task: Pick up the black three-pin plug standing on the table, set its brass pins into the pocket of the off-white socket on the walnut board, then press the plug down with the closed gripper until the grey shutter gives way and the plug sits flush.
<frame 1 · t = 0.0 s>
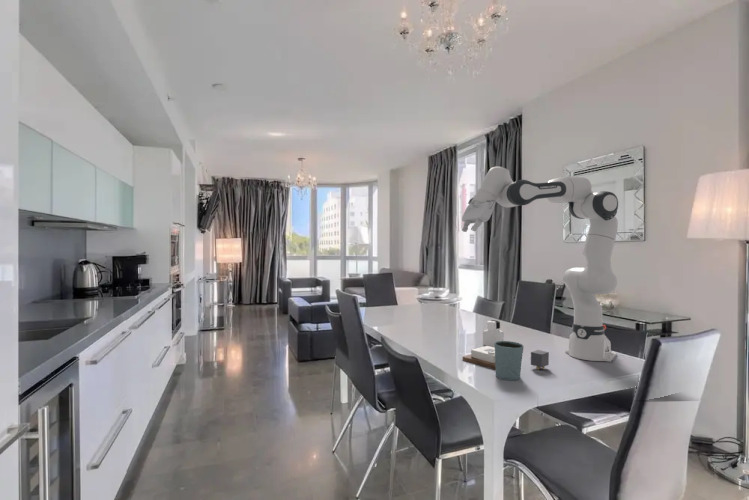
hand: (468, 230, 163), 54 cm above the table, tool tilted 30°, fingers open, 8 cm apart
shutter: (490, 351, 166), point 4 cm above the table, slide at 0.0 cm
socket: (490, 353, 166), on the mounting board, point 3 cm above the table
medicine bottle: (493, 345, 192), on the table
plug: (539, 368, 156), on the table
teal cup: (508, 376, 146), on the table
mounting board: (490, 361, 166), on the table
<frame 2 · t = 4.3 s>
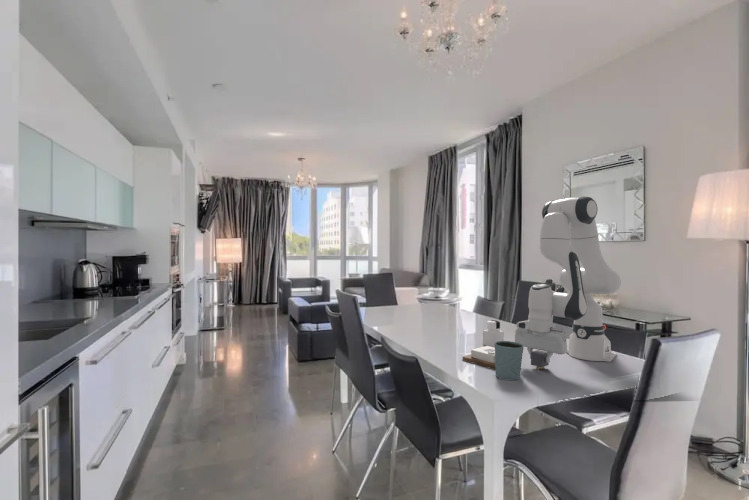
hand: (539, 360, 156), 3 cm above the table, tool pointing down, fingers closed on plug, 4 cm apart
plug: (539, 368, 156), on the table, touching gripper
everything else where it was.
when the fingers open (8 cm above the table, at t = 9.1 s): plug stays where it is, resting on shutter.
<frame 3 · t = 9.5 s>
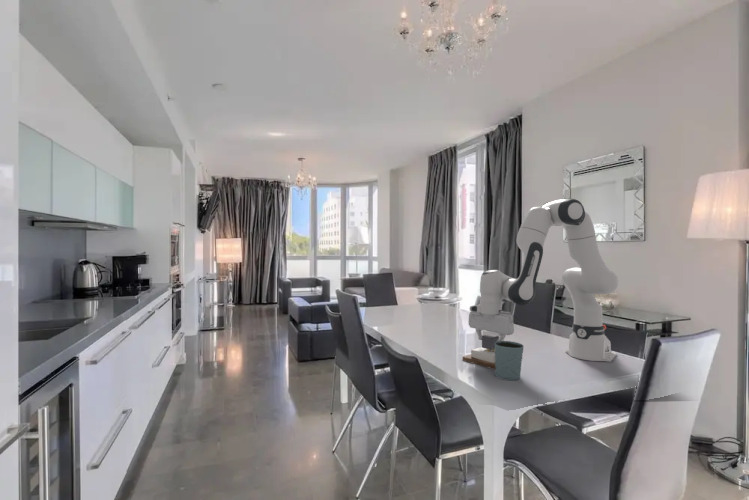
hand: (490, 341, 166), 8 cm above the table, tool pointing down, fingers open, 8 cm apart
shutter: (490, 352, 166), point 4 cm above the table, slide at 0.3 cm, touching plug
plug: (490, 351, 166), point 4 cm above the table, touching shutter
everything else where it was.
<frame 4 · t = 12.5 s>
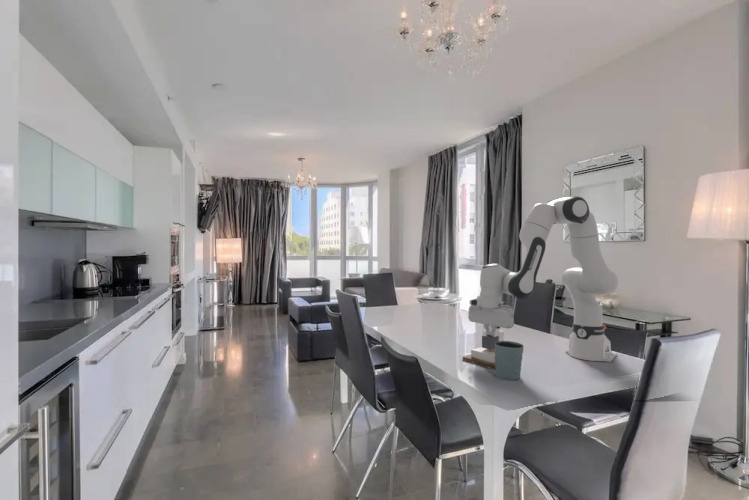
hand: (490, 335, 165), 11 cm above the table, tool pointing down, fingers closed, pressing on plug
plug: (490, 351, 166), point 4 cm above the table, touching gripper, shutter
everything else where it was.
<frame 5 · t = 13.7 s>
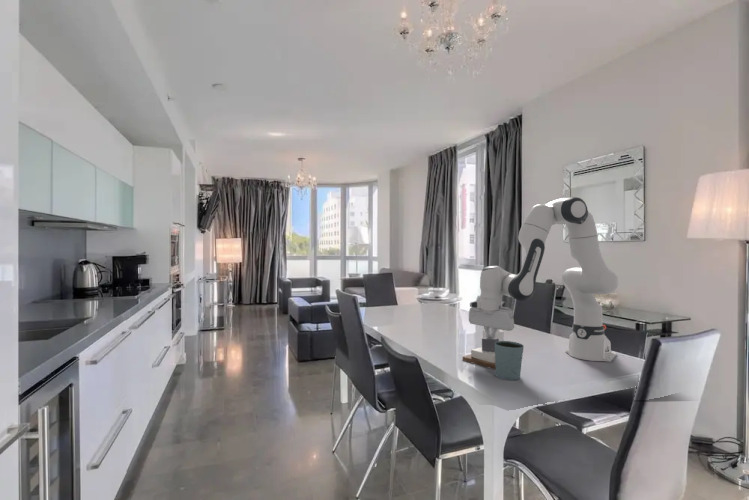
hand: (490, 337, 166), 10 cm above the table, tool pointing down, fingers closed
shutter: (490, 355, 166), point 3 cm above the table, slide at 1.5 cm
plug: (490, 354, 166), point 3 cm above the table, touching socket
everything else where it was.
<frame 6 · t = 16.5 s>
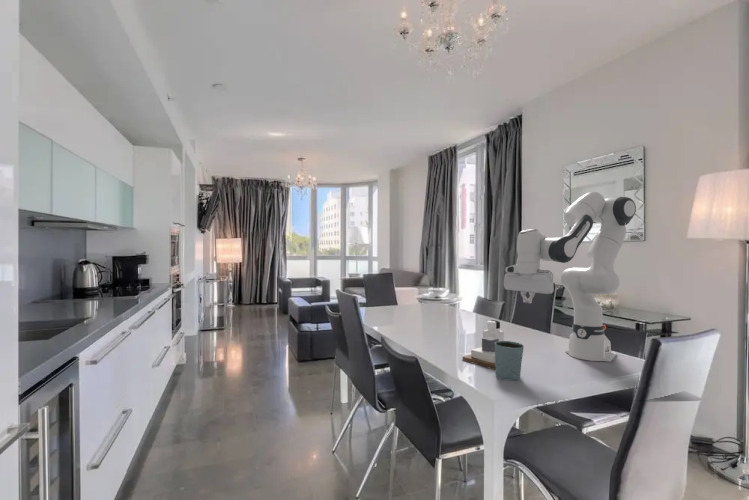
hand: (527, 302, 161), 25 cm above the table, tool pointing down, fingers closed
nothing on the table moved.
at the end: plug 0.1 cm off-centre on the socket, point 3.0 cm above the socket's base; shutter slide at 1.5 cm; the gripper is holding nothing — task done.
